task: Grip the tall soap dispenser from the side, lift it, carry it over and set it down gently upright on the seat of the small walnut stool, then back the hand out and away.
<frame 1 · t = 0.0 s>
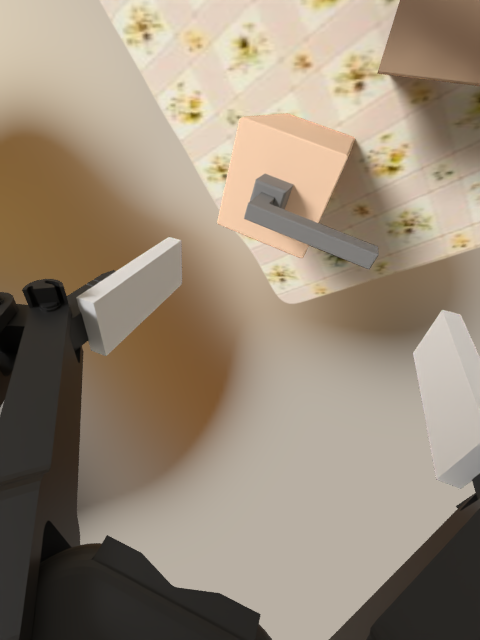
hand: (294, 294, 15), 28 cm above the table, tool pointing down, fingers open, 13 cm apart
soap dispenser: (321, 170, 36), on the table
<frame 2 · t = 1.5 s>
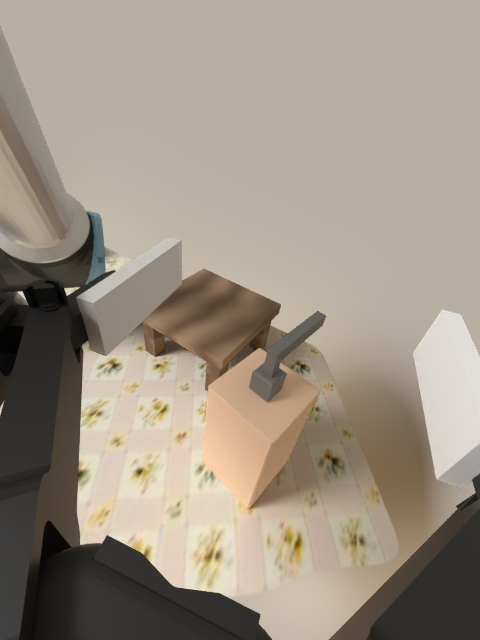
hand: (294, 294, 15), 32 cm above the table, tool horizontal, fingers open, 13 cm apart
soap dispenser: (254, 451, 42), on the table
walnut stool: (208, 347, 57), on the table
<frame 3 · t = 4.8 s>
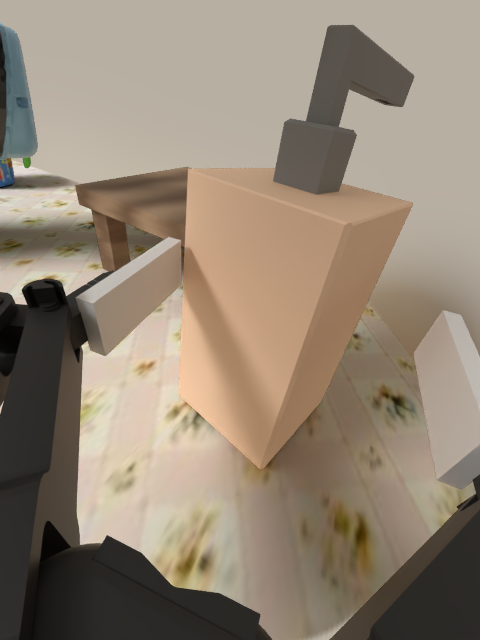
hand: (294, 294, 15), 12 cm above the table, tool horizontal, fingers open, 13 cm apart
soap dispenser: (266, 386, 26), on the table, touching gripper
walnut stool: (193, 267, 40), on the table
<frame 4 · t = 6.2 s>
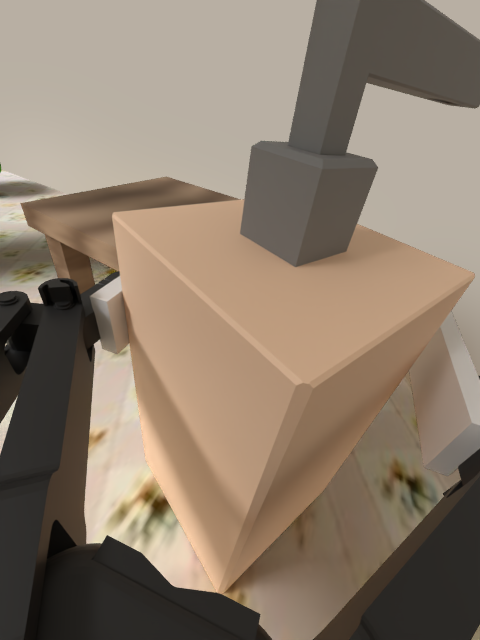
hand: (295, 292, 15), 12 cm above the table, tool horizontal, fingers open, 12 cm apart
soap dispenser: (257, 457, 21), on the table, touching gripper
walnut stool: (172, 294, 35), on the table
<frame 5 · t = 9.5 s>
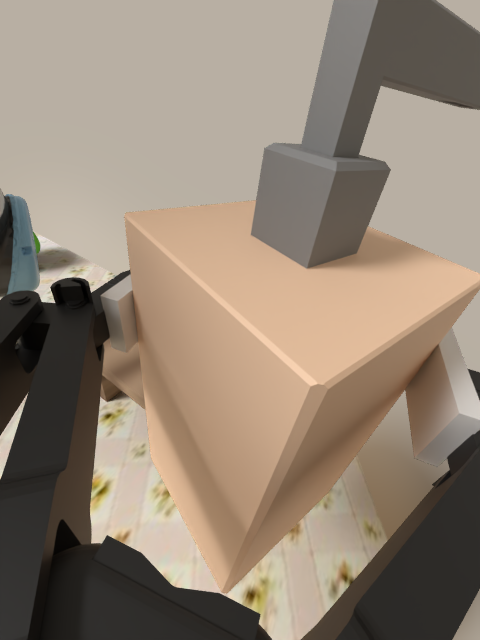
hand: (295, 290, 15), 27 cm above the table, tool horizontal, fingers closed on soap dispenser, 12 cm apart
soap dispenser: (262, 457, 21), point 15 cm above the table, touching gripper
walnut stool: (181, 387, 43), on the table
when the fingers open (23 cm above the table, at t = 12.6 s): soap dispenser drops 1 cm, resting on walnut stool.
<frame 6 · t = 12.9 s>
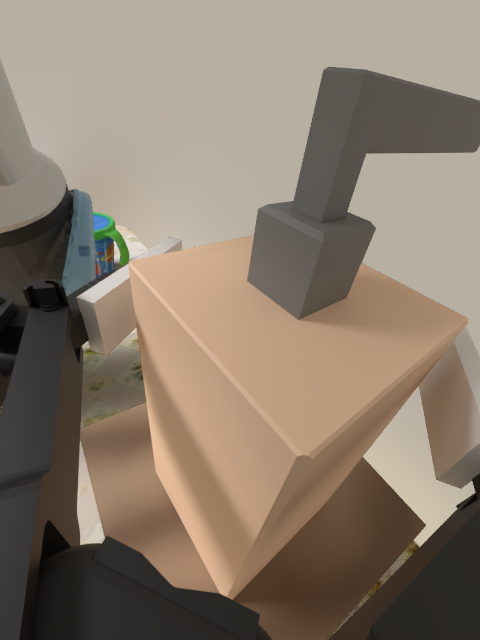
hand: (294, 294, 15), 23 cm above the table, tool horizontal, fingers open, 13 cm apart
snack cup: (93, 273, 58), on the table
soap dispenser: (262, 469, 21), point 10 cm above the table, touching walnut stool
walnut stool: (229, 523, 27), on the table
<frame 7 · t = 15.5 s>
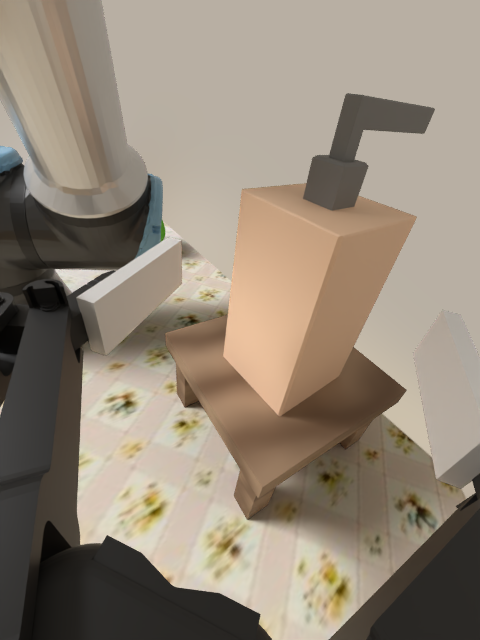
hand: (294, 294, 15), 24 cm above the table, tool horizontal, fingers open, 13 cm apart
soap dispenser: (294, 359, 31), point 10 cm above the table, touching walnut stool
walnut stool: (265, 415, 37), on the table
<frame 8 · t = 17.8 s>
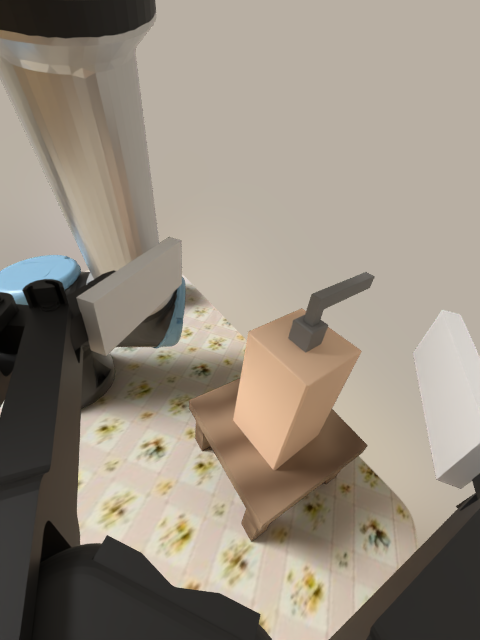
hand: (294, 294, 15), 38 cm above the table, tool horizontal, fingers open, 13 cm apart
soap dispenser: (285, 420, 42), point 10 cm above the table, touching walnut stool
walnut stool: (264, 457, 47), on the table
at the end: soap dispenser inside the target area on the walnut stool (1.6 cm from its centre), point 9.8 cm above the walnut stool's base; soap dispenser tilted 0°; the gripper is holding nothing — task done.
